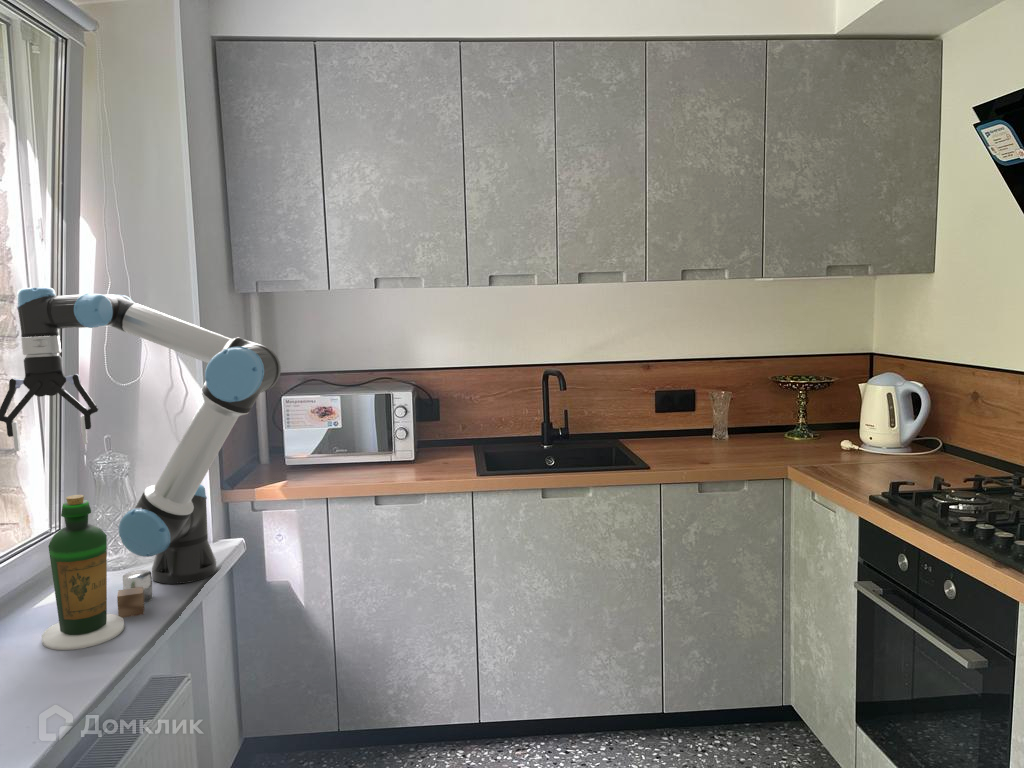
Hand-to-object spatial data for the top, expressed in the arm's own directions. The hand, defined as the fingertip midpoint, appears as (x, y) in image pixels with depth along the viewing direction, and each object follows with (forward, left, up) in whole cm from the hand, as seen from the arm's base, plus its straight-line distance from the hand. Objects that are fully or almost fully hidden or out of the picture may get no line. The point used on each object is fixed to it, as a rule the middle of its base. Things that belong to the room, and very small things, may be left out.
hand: (52, 447), depth 179 cm
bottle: (-7, +27, -34) cm, 44 cm away
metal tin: (-17, +11, -35) cm, 41 cm away
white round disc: (-7, +27, -35) cm, 45 cm away
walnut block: (-16, +19, -35) cm, 43 cm away
